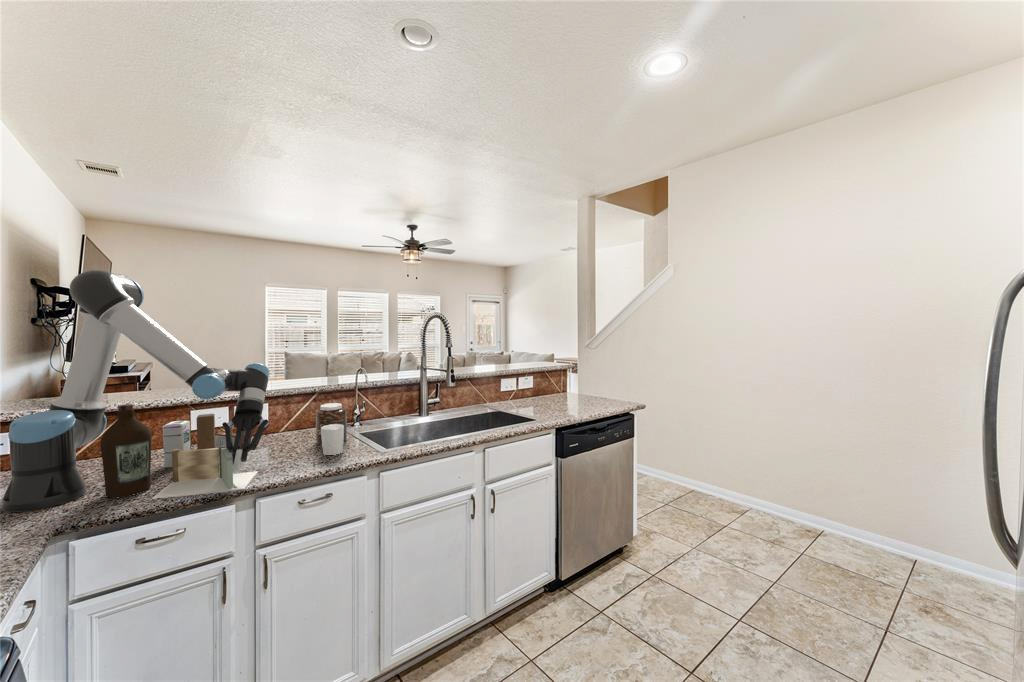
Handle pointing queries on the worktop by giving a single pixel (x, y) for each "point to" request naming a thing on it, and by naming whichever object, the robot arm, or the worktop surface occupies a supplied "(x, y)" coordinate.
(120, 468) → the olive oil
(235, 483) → the card
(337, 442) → the white cup
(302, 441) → the worktop surface
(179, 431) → the syrup box
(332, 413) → the jar
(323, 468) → the worktop surface
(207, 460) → the fixed fence section
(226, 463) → the hinged fence section
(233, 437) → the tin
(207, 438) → the wooden block
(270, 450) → the worktop surface
